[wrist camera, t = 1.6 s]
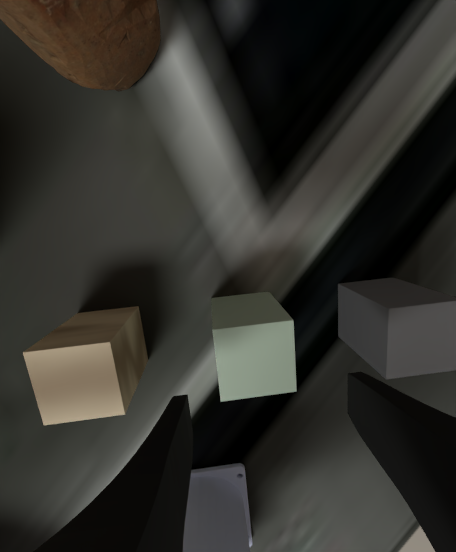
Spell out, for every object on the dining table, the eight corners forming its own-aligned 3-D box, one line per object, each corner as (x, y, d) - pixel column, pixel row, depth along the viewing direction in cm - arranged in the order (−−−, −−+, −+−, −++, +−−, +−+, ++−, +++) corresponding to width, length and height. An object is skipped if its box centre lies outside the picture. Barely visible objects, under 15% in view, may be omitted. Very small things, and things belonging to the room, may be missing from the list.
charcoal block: (390, 329, 22) (457, 370, 16) (338, 336, 22) (386, 379, 16) (392, 277, 21) (464, 299, 15) (337, 283, 21) (388, 308, 15)
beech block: (148, 359, 21) (124, 414, 15) (90, 366, 21) (43, 425, 15) (138, 306, 20) (109, 342, 14) (77, 312, 20) (22, 352, 14)
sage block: (272, 344, 21) (296, 391, 16) (217, 351, 21) (220, 401, 15) (268, 291, 20) (293, 320, 15) (211, 297, 20) (212, 329, 14)
